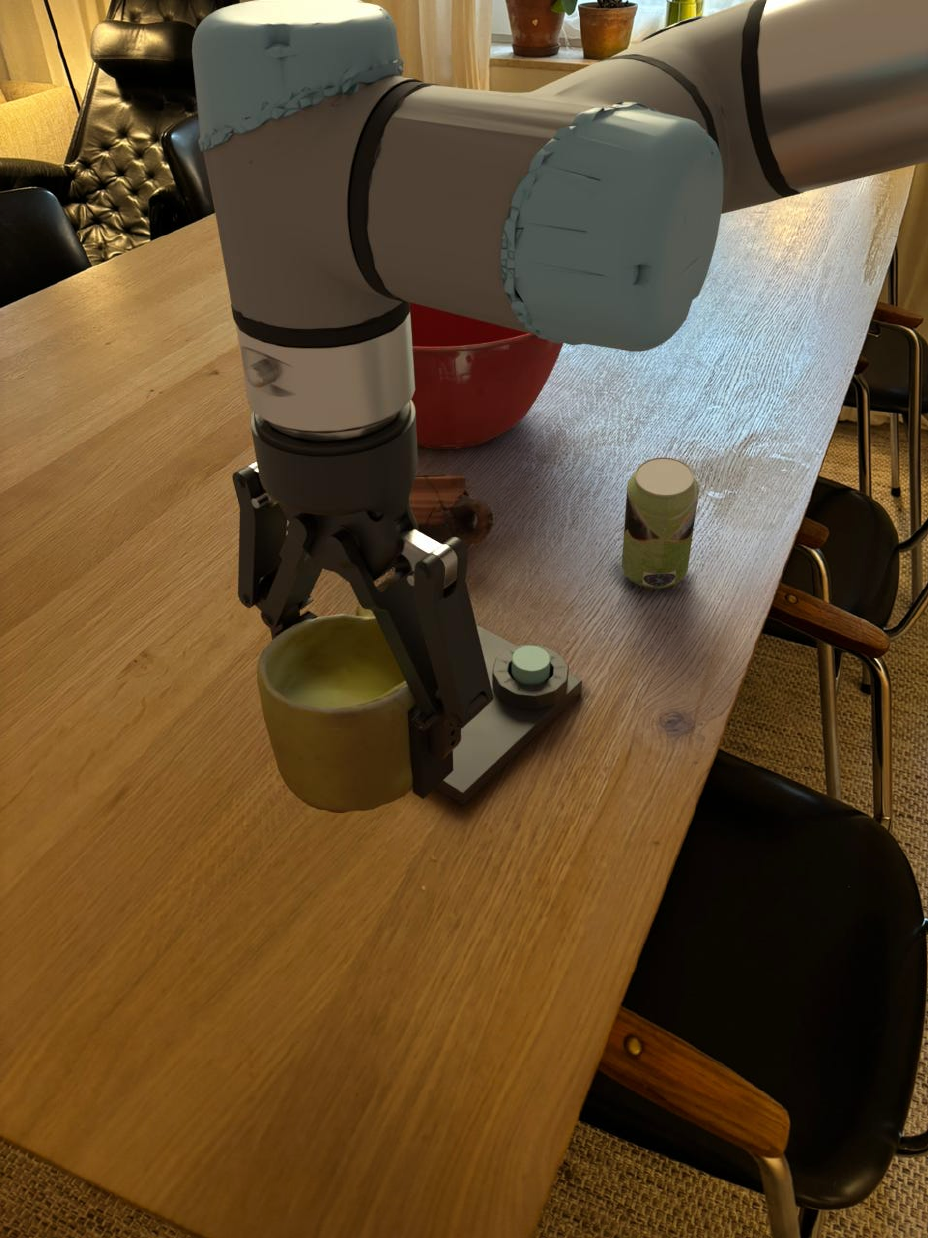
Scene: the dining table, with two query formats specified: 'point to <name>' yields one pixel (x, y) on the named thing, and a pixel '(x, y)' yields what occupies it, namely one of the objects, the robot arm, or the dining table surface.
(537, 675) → the power button
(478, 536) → the pottery mug
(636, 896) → the dining table surface
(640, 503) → the beverage can
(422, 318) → the mixing bowl
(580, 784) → the dining table surface
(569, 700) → the scale
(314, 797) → the mug
